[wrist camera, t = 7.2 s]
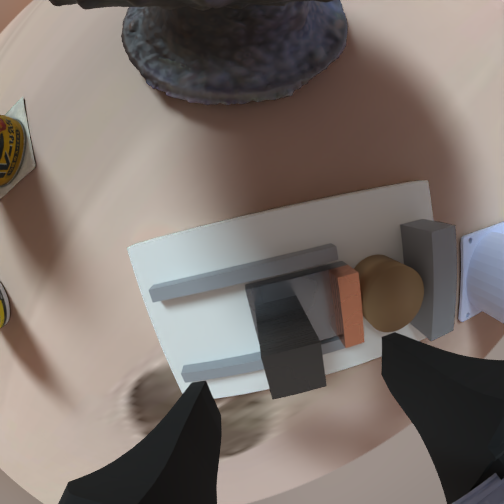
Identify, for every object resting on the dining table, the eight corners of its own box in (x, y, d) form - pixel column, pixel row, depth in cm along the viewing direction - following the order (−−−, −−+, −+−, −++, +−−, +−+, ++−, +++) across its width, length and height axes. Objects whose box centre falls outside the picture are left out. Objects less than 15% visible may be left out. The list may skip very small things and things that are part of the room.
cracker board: (416, 180, 17) (461, 180, 12) (424, 326, 20) (458, 354, 15) (135, 243, 17) (101, 261, 12) (189, 390, 20) (179, 434, 15)
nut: (397, 248, 16) (422, 258, 14) (400, 303, 17) (423, 320, 14) (343, 262, 16) (363, 276, 14) (350, 319, 17) (367, 341, 14)
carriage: (341, 260, 16) (393, 297, 10) (349, 323, 17) (392, 378, 11) (244, 284, 16) (247, 337, 10) (261, 346, 17) (270, 415, 11)
